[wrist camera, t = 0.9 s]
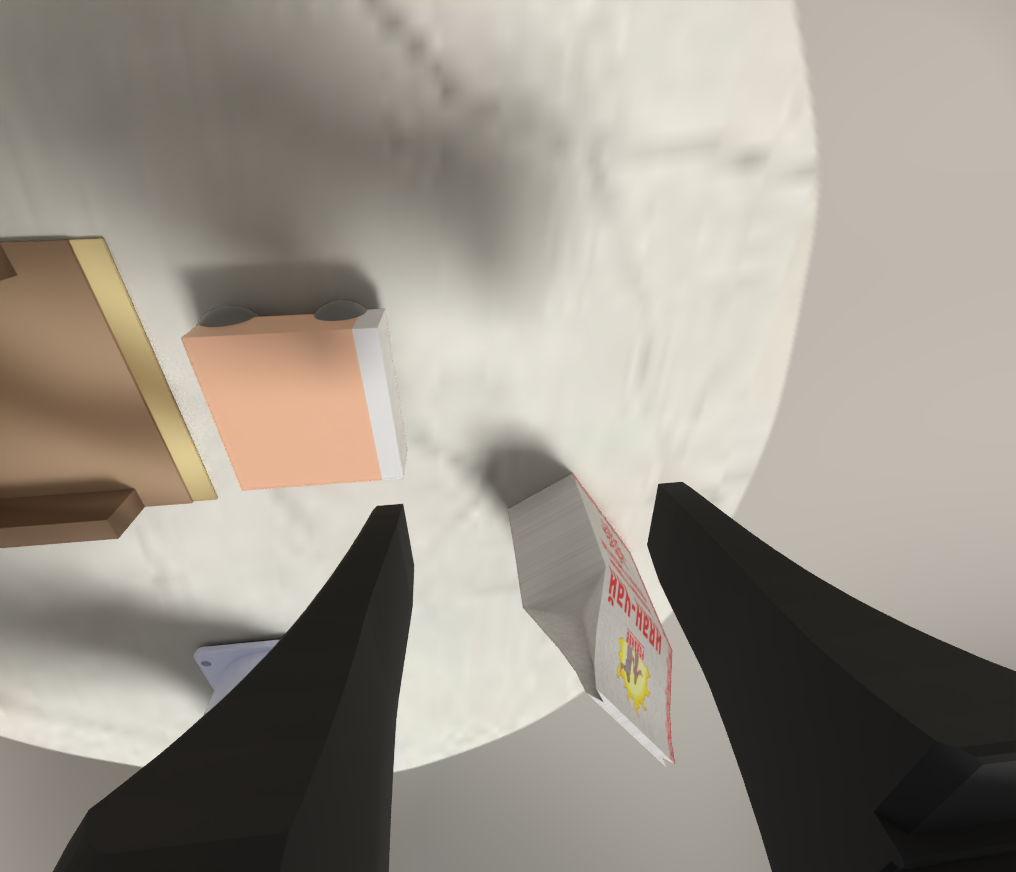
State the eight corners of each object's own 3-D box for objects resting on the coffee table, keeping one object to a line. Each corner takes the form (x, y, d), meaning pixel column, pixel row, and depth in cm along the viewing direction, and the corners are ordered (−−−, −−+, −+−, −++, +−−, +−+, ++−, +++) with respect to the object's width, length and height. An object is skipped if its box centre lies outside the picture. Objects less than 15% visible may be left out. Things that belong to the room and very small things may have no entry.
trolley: (410, 444, 21) (404, 486, 19) (258, 455, 21) (231, 500, 18) (386, 289, 18) (375, 315, 15) (201, 298, 17) (158, 326, 15)
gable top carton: (572, 581, 27) (626, 783, 19) (508, 508, 24) (538, 713, 15) (630, 552, 26) (714, 748, 18) (572, 472, 23) (642, 667, 14)
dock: (217, 497, 22) (195, 532, 20) (-20, 515, 21) (-68, 553, 19) (103, 238, 16) (55, 252, 14) (-232, 250, 15) (-331, 266, 13)
